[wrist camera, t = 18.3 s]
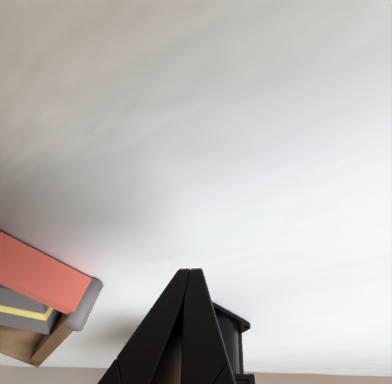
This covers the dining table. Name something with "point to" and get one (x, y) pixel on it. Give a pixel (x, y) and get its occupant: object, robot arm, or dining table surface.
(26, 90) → the dining table surface
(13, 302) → the grey taped parcel
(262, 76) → the dining table surface
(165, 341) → the robot arm
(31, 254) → the gate
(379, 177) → the dining table surface
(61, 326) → the tan frame
